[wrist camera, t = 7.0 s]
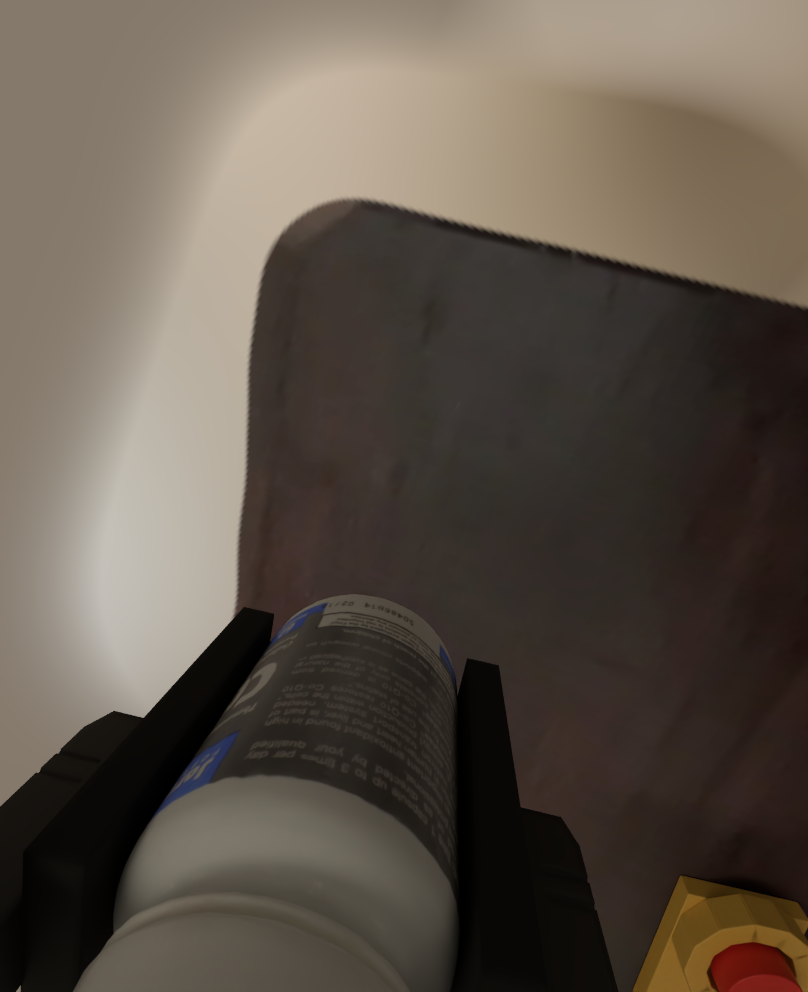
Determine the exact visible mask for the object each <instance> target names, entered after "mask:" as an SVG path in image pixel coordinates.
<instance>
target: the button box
mask: <svg viewBox="0 0 808 992" xmlns="http://www.w3.org/2000/svg"><path fill="white" fill-rule="evenodd" d="M807 928H808V918H807V917H806V915H805V913H804V912H803V910H802V909H801V907H800V906H799V904H798V903H797V902H794V901H790V900H786V899H781V898H777V897H773V896H768V895H764V894H760V893H755V892H751V891H747V890H742V889H738V888H734V887H730V886H725V885H721V884H717V883H712V882H708V881H704V880H699V879H695V878H691V877H686V876H682V875H680V877H679V879H678V882H677V884H676V887H675V889H674V891H673V894H672V896H671V899H670V901H669V903H668V906H667V908H666V911H665V913H664V916H663V918H662V920H661V923H660V925H659V928H658V930H657V932H656V935H655V937H654V940H653V942H652V945H651V947H650V949H649V952H648V954H647V957H646V959H645V961H644V964H643V966H642V969H641V971H640V974H639V976H638V978H637V981H636V983H635V986H634V988H633V992H719V990H718V987H717V985H716V983H715V980H714V978H713V976H712V973H711V962H712V959H713V957H714V956H715V955H717V954H718V953H720V952H721V951H723V950H724V949H726V948H728V947H729V946H731V945H735V944H742V943H748V942H757V943H761V944H765V945H769V946H772V947H774V948H775V949H777V950H778V951H779V952H780V953H781V954H782V955H783V957H784V958H785V960H786V962H787V964H788V966H789V967H790V969H791V971H792V973H793V975H794V976H795V978H796V980H797V982H798V984H799V985H800V987H801V989H802V991H803V992H808V941H807V939H806V938H805V936H804V934H805V932H806V930H807Z"/></svg>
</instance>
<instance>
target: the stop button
mask: <svg viewBox="0 0 808 992" xmlns="http://www.w3.org/2000/svg"><path fill="white" fill-rule="evenodd" d="M711 973H712V976H713V978H714V980H715V983H716V985H717V987H718V990H719V992H803V991H802V989H801V987H800V985H799V984H798V982H797V980H796V978H795V976H794V975H793V973H792V971H791V969H790V967H789V966H788V964H787V962H786V960H785V958H784V957H783V955H782V954H781V953H780V952H779V951H778V950H777V949H775V948H774V947H772V946H769V945H765V944H761V943H757V942H748V943H742V944H735V945H731V946H729V947H728V948H726V949H724V950H723V951H721V952H720V953H718V954H717V955H715V956H714V957H713V959H712V962H711Z"/></svg>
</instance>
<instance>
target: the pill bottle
mask: <svg viewBox="0 0 808 992" xmlns="http://www.w3.org/2000/svg"><path fill="white" fill-rule="evenodd" d="M457 731H458V710H457V686H456V678H455V672H454V668H453V665H452V662H451V659H450V656H449V653H448V651H447V649H446V647H445V646H444V644H443V642H442V641H441V639H440V638H439V637H438V635H437V634H436V632H435V631H434V630H433V629H432V628H431V627H430V626H429V625H428V624H427V623H426V622H425V621H424V620H423V619H422V618H421V617H419V616H418V615H417V614H415V613H414V612H412V611H410V610H409V609H407V608H405V607H403V606H401V605H398V604H396V603H394V602H391V601H389V600H386V599H382V598H378V597H372V596H365V595H357V594H350V595H342V596H335V597H330V598H327V599H323V600H320V601H318V602H315V603H314V604H312V605H310V606H308V607H306V608H304V609H303V610H301V611H299V612H298V613H297V614H295V615H294V616H293V617H292V618H291V619H290V620H289V621H288V622H287V623H286V624H285V625H284V626H283V627H282V628H281V629H280V630H279V632H278V633H277V634H276V636H275V637H274V638H273V639H272V641H271V642H270V644H269V645H268V647H267V648H266V650H265V651H264V653H263V654H262V656H261V658H260V659H259V661H258V662H257V663H256V665H255V666H254V668H253V670H252V671H251V673H250V674H249V676H248V677H247V679H246V680H245V681H244V683H243V684H242V686H241V687H240V689H239V690H238V692H237V693H236V695H235V696H234V698H233V699H232V701H231V702H230V704H229V705H228V706H227V708H226V710H225V711H224V713H223V714H222V716H221V717H220V719H219V720H218V722H217V723H216V725H215V726H214V728H213V729H212V731H211V732H210V734H209V735H208V737H207V738H206V739H205V741H204V742H203V744H202V745H201V747H200V748H199V750H198V751H197V752H196V754H195V755H194V757H193V759H192V760H191V762H190V763H189V764H188V766H187V767H186V768H185V769H184V771H183V772H182V774H181V775H180V777H179V778H178V780H177V781H176V783H175V784H174V786H173V787H172V789H171V790H170V792H169V793H168V795H167V796H166V798H165V799H164V801H163V802H162V804H161V805H160V807H159V808H158V809H157V811H156V812H155V814H154V815H153V817H152V818H151V820H150V821H149V823H148V824H147V826H146V828H145V829H144V831H143V832H142V834H141V836H140V837H139V839H138V840H137V842H136V844H135V846H134V848H133V850H132V852H131V854H130V856H129V858H128V860H127V862H126V864H125V866H124V869H123V872H122V875H121V878H120V881H119V885H118V889H117V892H116V899H115V906H114V913H113V930H114V934H113V935H112V937H111V938H110V939H109V940H108V941H107V943H106V945H105V946H104V948H103V949H102V951H101V952H100V953H99V955H98V956H97V957H96V958H95V959H94V960H93V961H92V962H91V963H90V964H89V966H88V967H87V968H86V969H85V971H84V972H83V974H82V976H81V978H80V979H79V981H78V983H77V985H76V987H75V989H74V991H73V992H450V990H451V987H452V984H453V980H454V976H455V972H456V966H457V960H458V951H459V939H460V896H459V848H458V845H459V824H458V776H459V769H458V735H457Z"/></svg>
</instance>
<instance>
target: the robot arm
mask: <svg viewBox="0 0 808 992" xmlns="http://www.w3.org/2000/svg"><path fill="white" fill-rule="evenodd" d="M273 619H274V614H272V613H268V612H263V611H259V610H255V609H250V608H246V607H244V608H243V609H242V610H241V611H240V612H239V613H238V614H237V615H236V616H235V618H234V619H233V620H232V621H231V622H230V623H229V624H228V626H227V627H226V628H225V629H224V630H223V631H222V632H221V633H220V634H219V635H218V637H217V638H216V639H215V640H214V641H213V642H212V643H211V644H210V645H209V646H208V647H207V649H206V650H205V651H204V652H203V653H202V654H201V655H200V656H199V658H198V659H197V660H196V661H195V662H194V663H193V664H192V665H191V666H190V667H189V668H188V670H187V671H186V672H185V673H184V674H183V675H182V676H181V677H180V678H179V680H178V681H177V682H176V683H175V684H174V685H173V686H172V687H171V689H170V690H169V691H168V692H167V693H166V694H165V695H164V696H163V697H162V698H161V700H160V701H159V702H158V703H157V704H156V705H155V706H154V707H153V708H152V710H151V711H150V712H149V713H148V714H147V715H146V716H145V717H144V718H141V717H137V716H132V715H128V714H124V713H120V712H116V711H113V712H111V713H109V714H107V715H106V716H104V717H102V718H100V719H98V720H96V721H94V722H92V723H91V724H89V725H87V726H85V727H84V728H83V729H81V730H80V731H79V732H78V733H77V734H76V735H75V736H74V737H73V738H72V739H71V740H70V741H69V742H68V743H67V744H66V745H65V746H64V747H63V748H61V751H60V753H59V754H55V755H54V756H53V757H52V758H51V759H50V760H49V761H48V762H47V763H46V764H45V765H44V766H43V767H41V770H40V772H39V773H35V774H34V775H33V776H32V777H31V778H30V779H29V780H28V781H27V782H26V783H25V784H24V785H23V786H21V787H20V789H18V790H17V791H16V792H15V793H14V794H13V795H12V796H11V797H10V798H9V799H8V800H7V801H6V802H5V803H4V804H3V805H2V806H0V992H16V991H17V989H18V988H19V987H20V985H21V992H73V991H74V989H75V987H76V985H77V983H78V981H79V979H80V978H81V976H82V974H83V972H84V971H85V969H86V968H87V967H88V966H89V964H90V963H91V962H92V961H93V960H94V959H95V958H96V957H97V956H98V955H99V953H100V952H101V951H102V949H103V948H104V946H105V945H106V943H107V941H108V940H109V939H110V938H111V937H112V935H113V934H114V930H113V913H114V906H115V899H116V892H117V889H118V885H119V881H120V878H121V875H122V872H123V869H124V866H125V864H126V862H127V860H128V858H129V856H130V854H131V852H132V850H133V848H134V846H135V844H136V842H137V840H138V839H139V837H140V836H141V834H142V832H143V831H144V829H145V828H146V826H147V824H148V823H149V821H150V820H151V818H152V817H153V815H154V814H155V812H156V811H157V809H158V808H159V807H160V805H161V804H162V802H163V801H164V799H165V798H166V796H167V795H168V793H169V792H170V790H171V789H172V787H173V786H174V784H175V783H176V781H177V780H178V778H179V777H180V775H181V774H182V772H183V771H184V769H185V768H186V767H187V766H188V764H189V763H190V762H191V760H192V759H193V757H194V755H195V754H196V752H197V751H198V750H199V748H200V747H201V745H202V744H203V742H204V741H205V739H206V738H207V737H208V735H209V734H210V732H211V731H212V729H213V728H214V726H215V725H216V723H217V722H218V720H219V719H220V717H221V716H222V714H223V713H224V711H225V710H226V708H227V706H228V705H229V704H230V702H231V701H232V699H233V698H234V696H235V695H236V693H237V692H238V690H239V689H240V687H241V686H242V684H243V683H244V681H245V680H246V679H247V677H248V676H249V674H250V673H251V671H252V670H253V668H254V666H255V665H256V663H257V662H258V661H259V659H260V658H261V656H262V654H263V653H264V651H265V650H266V648H267V647H268V645H269V644H270V639H271V632H272V626H273ZM457 710H458V731H457V735H458V769H459V776H458V824H459V845H458V848H459V896H460V939H459V951H458V960H457V966H456V972H455V976H454V980H453V984H452V987H451V990H450V992H618V989H617V985H616V981H615V978H614V974H613V970H612V966H611V963H610V959H609V955H608V951H607V948H606V944H605V940H604V936H603V933H602V929H601V925H600V921H599V918H598V914H597V910H595V908H594V904H595V903H594V899H593V895H592V891H591V888H590V884H589V883H588V882H587V877H588V876H587V873H586V869H585V865H584V861H583V857H582V854H581V850H580V846H579V844H578V843H577V841H576V840H575V838H574V837H573V835H572V834H571V832H570V830H569V829H568V827H567V826H566V824H565V823H564V821H563V819H562V818H561V817H558V816H554V815H550V814H546V813H542V812H538V811H533V810H529V809H525V808H521V807H520V801H519V794H518V788H517V781H516V775H515V768H514V762H513V755H512V749H511V742H510V736H509V729H508V723H507V716H506V710H505V703H504V697H503V690H502V684H501V677H500V671H499V665H494V664H490V663H486V662H481V661H477V660H473V659H468V658H467V661H466V665H465V669H464V673H463V677H462V681H461V685H460V689H459V692H458V696H457Z"/></svg>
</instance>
